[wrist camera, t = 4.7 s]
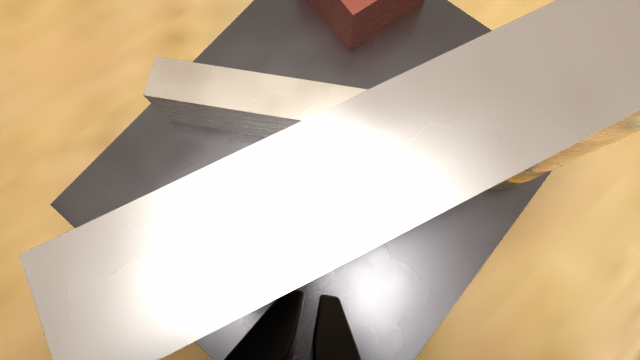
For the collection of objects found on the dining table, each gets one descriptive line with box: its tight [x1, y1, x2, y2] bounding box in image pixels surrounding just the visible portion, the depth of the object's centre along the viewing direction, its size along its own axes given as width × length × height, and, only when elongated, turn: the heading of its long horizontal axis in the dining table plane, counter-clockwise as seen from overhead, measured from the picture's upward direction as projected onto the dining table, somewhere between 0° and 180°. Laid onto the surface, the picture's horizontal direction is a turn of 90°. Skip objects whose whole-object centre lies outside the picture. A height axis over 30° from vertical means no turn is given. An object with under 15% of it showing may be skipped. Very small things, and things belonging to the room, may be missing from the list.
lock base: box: [50, 0, 552, 360], centre depth 15 cm, size 17×14×4 cm
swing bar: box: [19, 0, 640, 360], centre depth 9 cm, size 13×3×7 cm, turn 117°
